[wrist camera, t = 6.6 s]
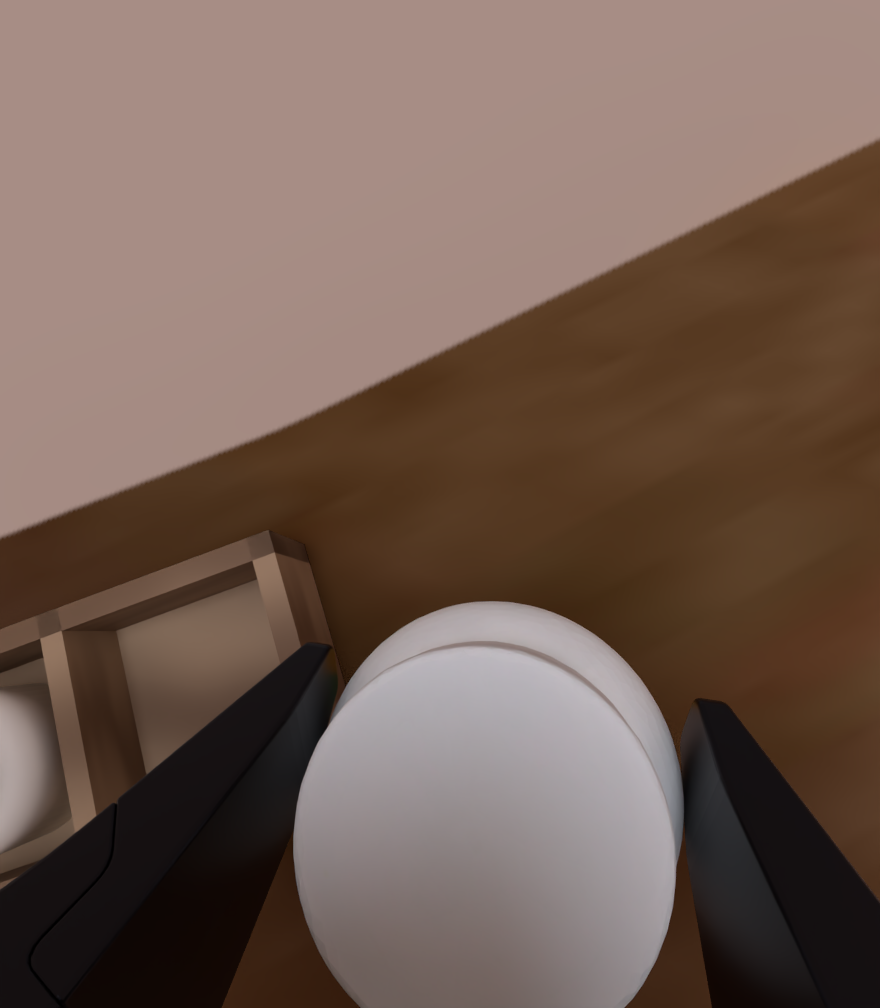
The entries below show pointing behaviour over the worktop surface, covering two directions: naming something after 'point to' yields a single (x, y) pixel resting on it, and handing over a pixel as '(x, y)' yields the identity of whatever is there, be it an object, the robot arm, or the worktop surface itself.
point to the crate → (158, 665)
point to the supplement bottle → (491, 818)
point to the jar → (29, 767)
